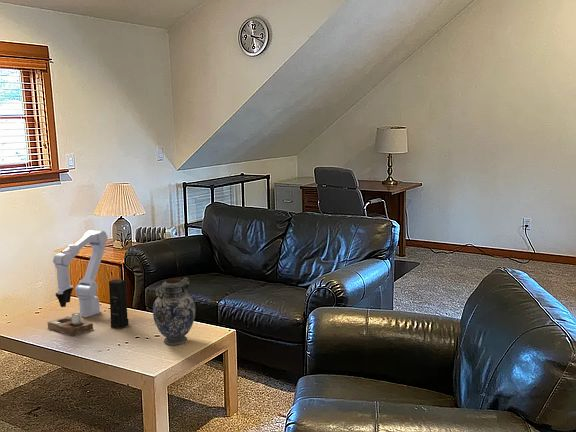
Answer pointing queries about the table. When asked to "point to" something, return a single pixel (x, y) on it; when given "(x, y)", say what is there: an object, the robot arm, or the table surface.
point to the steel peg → (76, 319)
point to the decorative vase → (174, 310)
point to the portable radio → (118, 303)
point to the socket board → (69, 326)
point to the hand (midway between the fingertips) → (65, 304)
